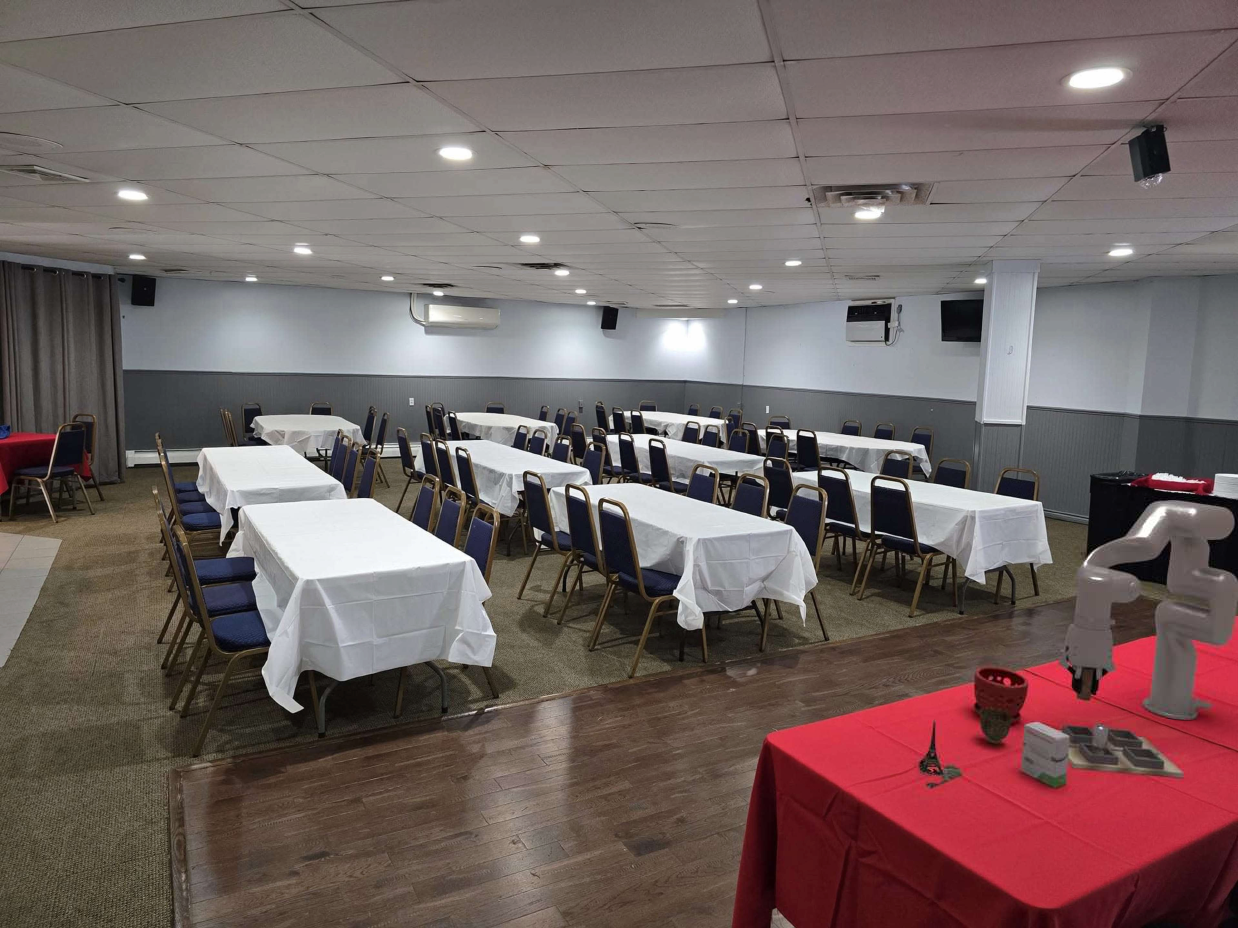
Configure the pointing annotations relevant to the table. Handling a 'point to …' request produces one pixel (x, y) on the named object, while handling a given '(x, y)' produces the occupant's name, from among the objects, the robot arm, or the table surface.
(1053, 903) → the table surface
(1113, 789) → the table surface
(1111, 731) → the board
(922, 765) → the eiffel tower figurine
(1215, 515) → the robot arm
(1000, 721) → the cup
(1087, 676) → the walnut pin
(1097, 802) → the table surface
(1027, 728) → the ink box
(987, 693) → the plant pot
